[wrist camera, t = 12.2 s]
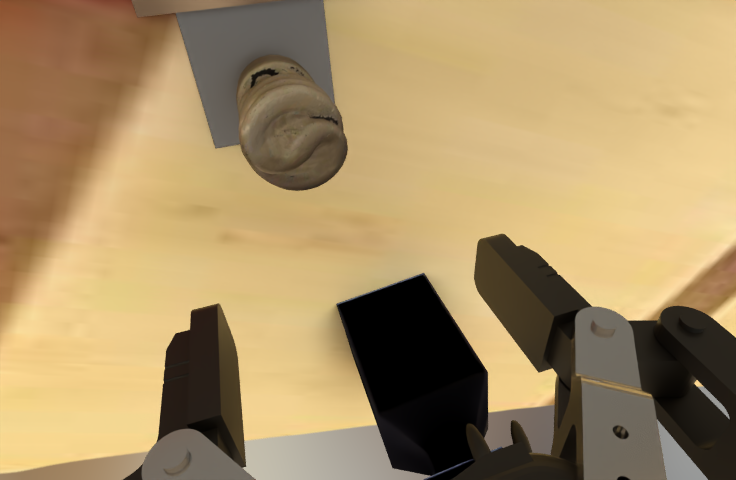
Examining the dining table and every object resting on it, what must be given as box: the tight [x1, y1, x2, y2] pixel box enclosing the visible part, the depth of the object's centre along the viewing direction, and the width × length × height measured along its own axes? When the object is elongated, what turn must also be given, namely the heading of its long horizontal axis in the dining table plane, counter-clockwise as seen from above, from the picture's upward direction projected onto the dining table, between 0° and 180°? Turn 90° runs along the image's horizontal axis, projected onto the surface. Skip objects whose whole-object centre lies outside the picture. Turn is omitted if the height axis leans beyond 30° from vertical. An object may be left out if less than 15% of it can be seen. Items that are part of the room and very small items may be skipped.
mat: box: [176, 0, 335, 148], centre depth 33 cm, size 10×10×1 cm
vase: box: [337, 273, 532, 480], centre depth 39 cm, size 14×12×35 cm
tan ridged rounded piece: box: [236, 55, 348, 191], centre depth 27 cm, size 6×6×15 cm
